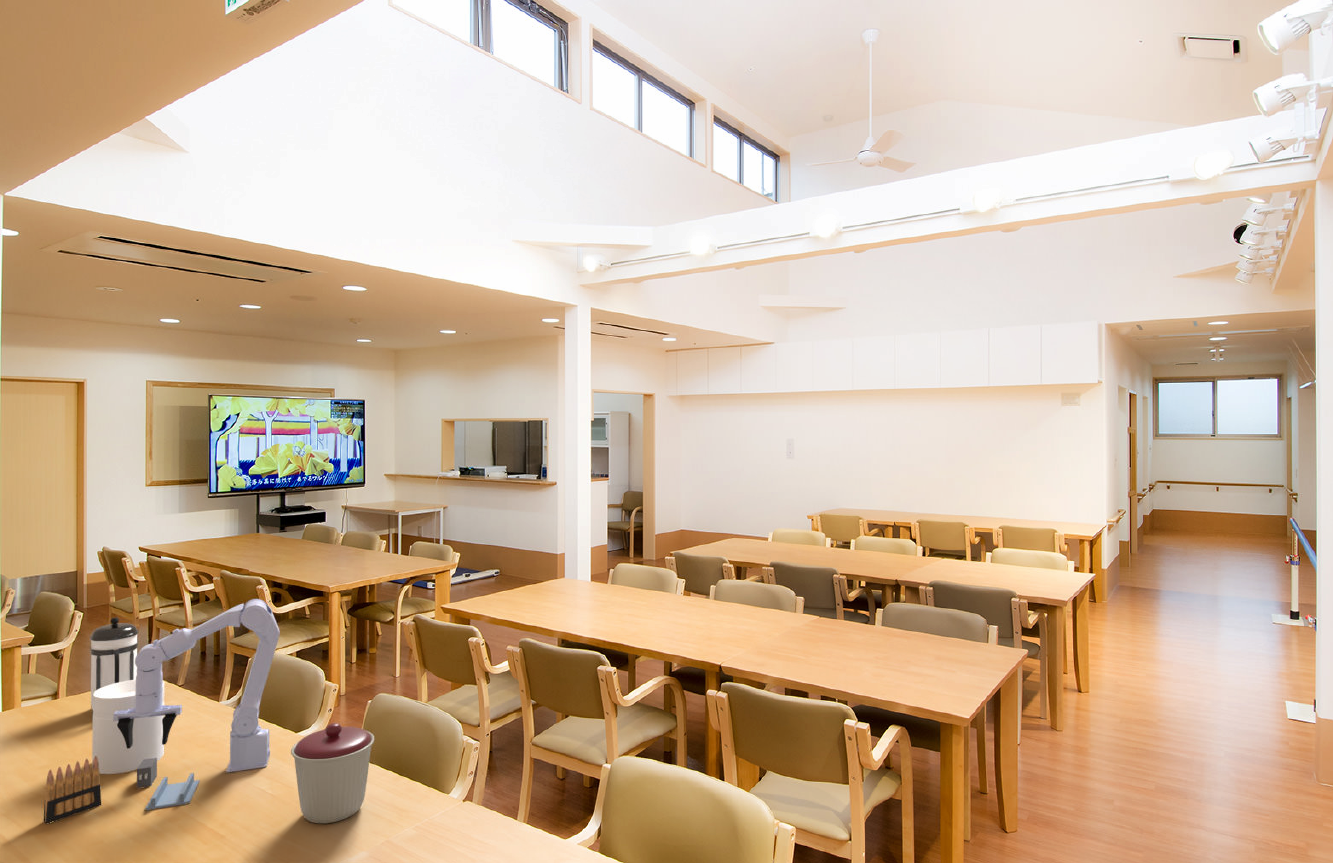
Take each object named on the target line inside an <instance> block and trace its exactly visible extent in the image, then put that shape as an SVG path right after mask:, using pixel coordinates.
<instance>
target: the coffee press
mask: <svg viewBox="0 0 1333 863" xmlns="http://www.w3.org/2000/svg"><path fill="white" fill-rule="evenodd" d="M109 622H110V623H111V624H106V625H105V624H104V625H102V626H99V627H98V628H95V629H94V630H93V631H92V632H91V635H90V636H89V640H90V642H91V643H90V644H91V646H90V651H89V652H90V659H91V660H90V661H91V662H90V706H91V709H92V710H93V693H94V692H95V691H96V690H98V689H100V688H102V687H105V686H108V685H111V684H115V683H119V682H124V681H129V680H136V676H137V672H136V671H137V667H136V665H135V658H136V656H137V654H138V647H139V641H138V635H139V633H140V632H139V629H138V628H137V626H136V625H134V624H133V623H127V622H126V623H125V622H123V623H122V622H120V619H119V618H118V617H112V618H111V620H110V621H109Z"/></svg>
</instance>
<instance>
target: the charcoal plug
mask: <svg viewBox="0 0 1333 863" xmlns="http://www.w3.org/2000/svg"><path fill="white" fill-rule="evenodd" d="M157 777H158V761H157V758H151V759H144V760H143V761H142V762H141V764H140V765H139V767H138V768H137V770H136V789H137V788H138V789H143V788H142V787H144V788H148V787H147V786H151V787H152V785H153V784H152V783H154V782H155V780H156V779H157Z"/></svg>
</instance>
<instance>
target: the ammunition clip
mask: <svg viewBox="0 0 1333 863" xmlns="http://www.w3.org/2000/svg"><path fill="white" fill-rule="evenodd" d="M75 763H76V764H75V767H74V774H73V771H72V766H71V764H69V763H68V764H67V765H66V768H65V774H64V773H63V770H62V768H61V766H59V767H58V768H57V771H56V776H55V781H54V774H53V771H52V769H49V770H48V773H47V776H46V787H45V794H44V795H45V797H44V798H45V799H44V808H43V823H44V824H46V825H48V824H47V823H49V824H51V823H50V822H52V821H54V822H57V821H60V820H63V819H66V818H68V817H72V816H75V815H77V814H79V813H83V812H85V811H89V810H92V809H94V807H95V808H96V807H97V806H98V807H100V806H102V793H101V791H102V790H101V783H100V782H101V778H100V776H101V774H100V772H99V763H98V758H97V756H95V757H94V760H93V766H92V765H91V767H90V760H89V759H88V758H85V760H84V765H83V771H82V770H81V769H82V768H81V764H80V762H79V761H76V762H75ZM81 771H82V772H83V773H82V772H81ZM63 774H64V775H65V777H64V775H63ZM99 805H100V806H99ZM91 808H92V809H91ZM88 809H89V810H88ZM74 814H75V815H74ZM56 820H57V821H56ZM52 823H53V822H52Z"/></svg>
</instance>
